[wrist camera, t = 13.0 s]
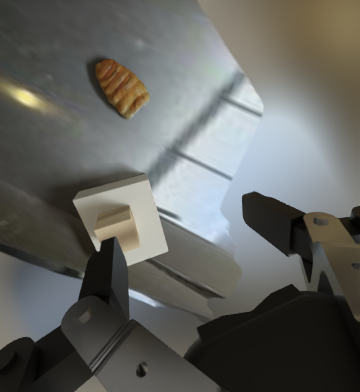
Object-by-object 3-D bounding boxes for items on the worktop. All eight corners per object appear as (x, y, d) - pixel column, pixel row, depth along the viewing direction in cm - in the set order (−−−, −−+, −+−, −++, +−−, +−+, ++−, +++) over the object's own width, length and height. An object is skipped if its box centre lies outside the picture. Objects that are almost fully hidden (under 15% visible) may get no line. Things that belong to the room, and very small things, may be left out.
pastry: (86, 79, 31) (82, 73, 28) (113, 50, 31) (112, 40, 28) (128, 122, 35) (129, 122, 32) (152, 97, 35) (156, 94, 32)
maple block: (98, 214, 35) (93, 230, 29) (129, 205, 36) (130, 218, 30) (109, 239, 37) (107, 258, 32) (138, 229, 38) (140, 246, 33)
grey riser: (78, 191, 37) (72, 200, 32) (145, 173, 40) (148, 179, 35) (109, 258, 44) (107, 273, 40) (164, 239, 47) (168, 251, 42)
